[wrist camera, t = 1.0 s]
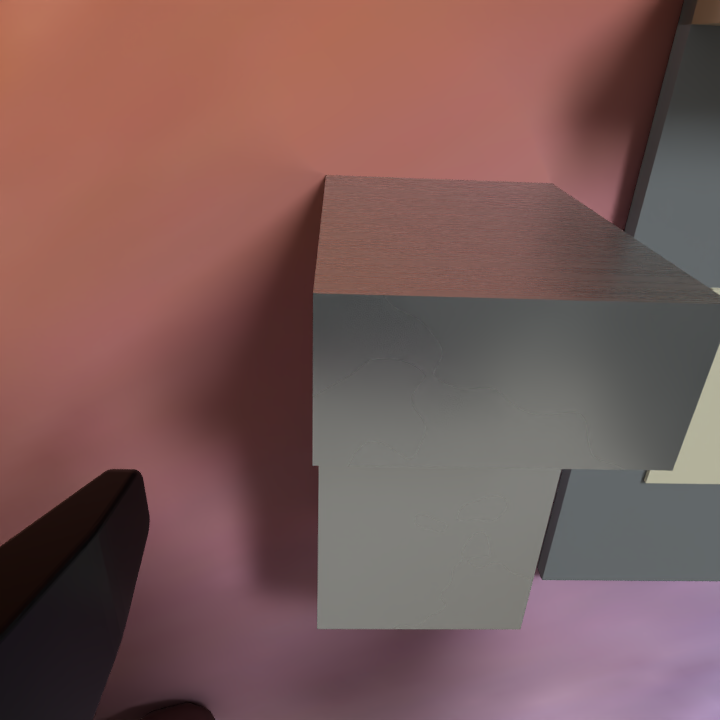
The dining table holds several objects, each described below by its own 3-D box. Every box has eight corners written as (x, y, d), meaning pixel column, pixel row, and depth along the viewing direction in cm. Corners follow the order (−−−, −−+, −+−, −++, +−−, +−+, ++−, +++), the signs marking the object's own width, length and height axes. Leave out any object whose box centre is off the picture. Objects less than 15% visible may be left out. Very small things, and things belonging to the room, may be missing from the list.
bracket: (326, 175, 10) (313, 293, 5) (551, 182, 10) (734, 304, 6) (321, 518, 14) (312, 769, 9) (487, 520, 14) (562, 766, 9)
